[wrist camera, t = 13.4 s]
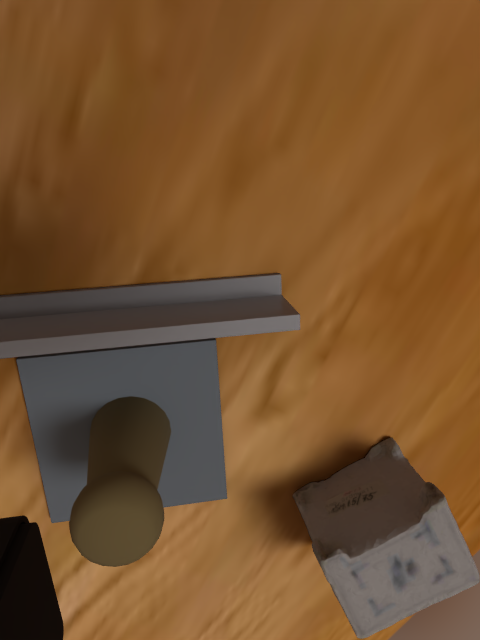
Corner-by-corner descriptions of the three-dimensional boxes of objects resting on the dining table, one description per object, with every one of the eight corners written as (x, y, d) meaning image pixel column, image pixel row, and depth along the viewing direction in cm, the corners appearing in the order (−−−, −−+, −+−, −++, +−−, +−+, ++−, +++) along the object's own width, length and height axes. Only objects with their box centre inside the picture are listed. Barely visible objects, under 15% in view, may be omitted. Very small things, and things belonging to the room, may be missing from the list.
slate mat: (215, 337, 34) (215, 340, 34) (226, 493, 38) (227, 498, 38) (19, 356, 32) (16, 359, 32) (53, 517, 37) (51, 523, 36)
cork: (187, 424, 35) (194, 527, 25) (139, 479, 36) (126, 601, 26) (122, 381, 33) (101, 473, 23) (73, 440, 34) (31, 554, 24)
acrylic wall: (279, 273, 33) (299, 291, 28) (280, 324, 35) (300, 351, 29) (-42, 298, 31) (-86, 324, 25) (-28, 354, 32) (-67, 389, 27)
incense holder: (386, 424, 39) (459, 508, 29) (414, 495, 42) (490, 593, 32) (282, 475, 39) (320, 576, 29) (317, 542, 42) (363, 656, 32)
